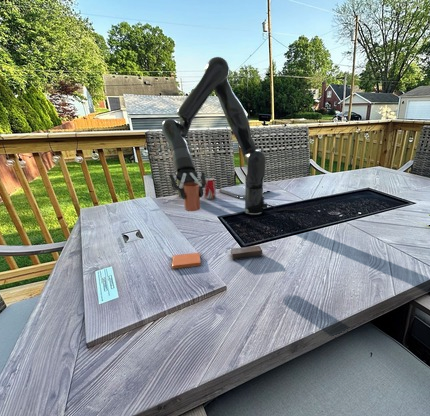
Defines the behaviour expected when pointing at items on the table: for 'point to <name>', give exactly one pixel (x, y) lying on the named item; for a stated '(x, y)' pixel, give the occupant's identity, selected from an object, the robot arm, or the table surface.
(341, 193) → the table surface
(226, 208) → the table surface
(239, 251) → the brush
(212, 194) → the soda can
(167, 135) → the robot arm
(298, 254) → the table surface
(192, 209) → the pot
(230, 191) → the notebook
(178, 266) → the orange rectangular slab
